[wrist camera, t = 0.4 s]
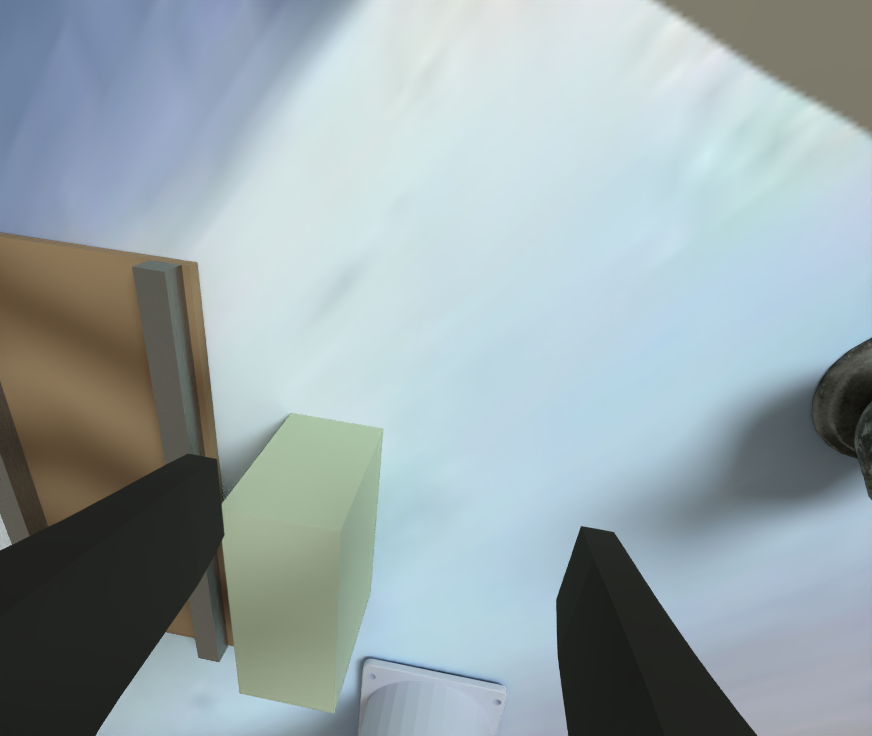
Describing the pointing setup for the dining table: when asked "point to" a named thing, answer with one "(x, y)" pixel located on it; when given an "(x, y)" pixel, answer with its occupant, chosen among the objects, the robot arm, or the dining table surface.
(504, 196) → the dining table surface
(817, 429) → the grey tall carved piece
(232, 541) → the pale green block
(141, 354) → the floor track
